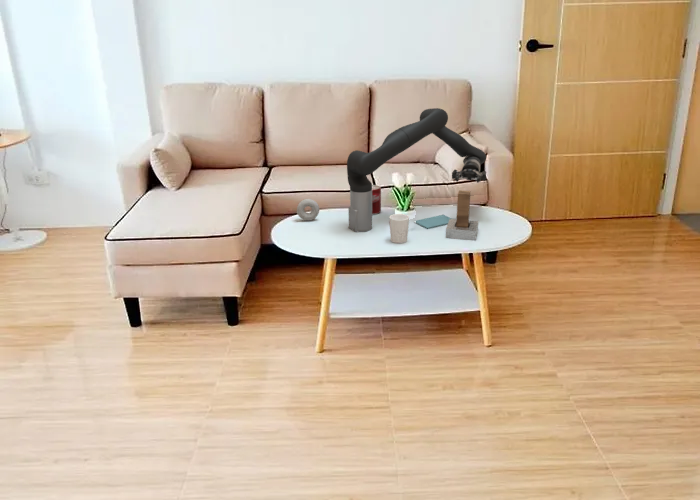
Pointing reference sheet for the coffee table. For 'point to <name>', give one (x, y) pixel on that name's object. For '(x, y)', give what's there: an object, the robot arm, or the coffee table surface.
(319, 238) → the coffee table surface
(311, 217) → the donut
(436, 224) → the slate mat
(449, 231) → the socket block
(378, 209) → the soda can
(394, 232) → the beige cup
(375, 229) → the coffee table surface
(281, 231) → the coffee table surface
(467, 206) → the walnut post
